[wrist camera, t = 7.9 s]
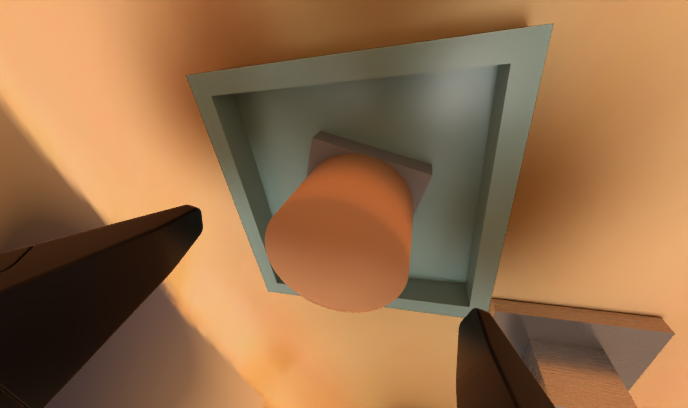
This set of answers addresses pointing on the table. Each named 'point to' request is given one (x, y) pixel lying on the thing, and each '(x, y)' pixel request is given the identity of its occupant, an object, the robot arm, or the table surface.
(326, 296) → the tan cylindrical plug
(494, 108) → the bin
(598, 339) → the stud fixture
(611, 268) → the table surface
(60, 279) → the robot arm
